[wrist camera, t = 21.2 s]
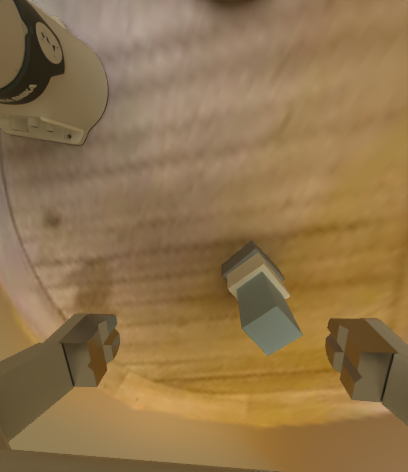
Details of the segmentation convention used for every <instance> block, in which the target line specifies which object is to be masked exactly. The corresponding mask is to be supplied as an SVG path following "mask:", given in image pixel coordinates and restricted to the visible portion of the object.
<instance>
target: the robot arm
mask: <svg viewBox="0 0 408 472" xmlns="http://www.w3.org/2000/svg"><path fill="white" fill-rule="evenodd" d="M107 97H108V85H107V79H106V75H105V71H104V69H103V66H102V64H101V62H100V60H99V59H98V57H97V56H96V54H95V53H94V52H93V51H92V49H91V48H90V47H88V46H87V45H86V44H85V43H83V42H82V41H80V40H79V39H77V38H76V37H75V36H73V35H72V34H71V32H70V31H69V29H68V28H67V27H66V25H65V24H64V23H63V22H62V21H61V20H60V19H58V18H57V17H56V16H53V15H51V16H48V15H47V14H46V13H45V12H43V11H42V10H41V9H39V8H38V7H37V6H36V5H34V4H33V3H32V2H30V1H29V0H0V128H1V129H2V130H3V131H4V132H5V133H8V134H11V135H16V136H22V137H29V138H35V139H41V140H48V141H54V142H60V143H67V144H73V145H82V144H83V143H84V141H85V139H86V137H87V134H88V131H89V130H90V128H91V127H92V126H93V125H94V124H95V123H96V122H97V121H98V120H99V119H100V117H101V116H102V114H103V112H104V109H105V107H106V103H107ZM70 135H71V139H70ZM116 325H117V320H116V316H114V315H113V314H92V313H90V314H88V313H77V314H74V315H73V316H72V317H71V318H70V319H69V320H67V321H66V322H65V323H64V324H63V325H62V326H61V327H60V328H59V329H58V330H57V331H55V332H54V333H53V334H52V335H51V336H50V337H49V338H48V339H47V340H46V341H45V342H43V343H38V344H35V345H33V346H31V347H29V348H27V349H25V350H23V351H21V352H19V353H17V354H15V355H13V356H11V357H9V358H7V359H4V360H2V361H0V472H278V471H266V470H254V469H241V468H229V467H218V466H205V465H192V464H181V463H169V462H157V461H145V460H132V459H120V458H108V457H96V456H84V455H71V454H59V453H47V452H35V451H23V450H11V448H10V445H9V443H8V442H9V441H10V440H11V439H12V438H14V437H15V436H16V435H17V434H19V433H20V432H21V431H22V430H23V429H25V428H26V427H27V426H28V425H29V424H30V423H32V422H33V421H34V420H35V419H37V418H38V417H39V416H40V415H41V414H43V413H44V412H45V411H46V410H47V409H49V408H50V407H51V406H52V405H54V404H55V403H56V402H57V401H58V400H60V399H61V398H62V397H63V396H64V395H66V394H67V393H68V392H69V391H70V390H72V389H73V387H97V386H98V384H99V383H100V381H101V379H102V378H103V376H104V374H105V373H106V371H107V364H108V363H109V362H110V361H112V360H113V359H114V358H115V356H116V354H117V352H118V349H119V345H120V336H119V332H118V331H117V330H116V329H115V326H116ZM327 328H328V330H329V331H330V332H331V334H330V335H329V336H328V337H327V338H326V343H325V348H326V354H327V357H328V360H329V362H330V364H331V365H332V367H333V368H334V369H335V370H337V371H338V372H340V373H341V375H340V381H341V383H342V384H343V386H344V388H345V389H346V391H347V393H348V394H349V396H350V398H351V399H352V400H360V401H372V402H382V404H383V405H384V406H385V407H386V408H387V409H389V410H390V411H391V412H392V413H393V414H394V415H396V416H397V417H398V418H399V419H400V420H402V421H403V422H404V423H405V424H406V425H408V344H407V343H405V342H404V341H403V340H402V339H401V338H400V337H399V336H398V335H396V334H395V333H394V332H393V331H392V330H391V329H390V328H389V327H388V326H386V325H385V324H384V323H383V322H382V321H381V320H379V319H377V318H360V319H341V318H330V320H329V322H328V327H327Z"/></svg>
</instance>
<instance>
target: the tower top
mask: <svg viewBox="0 0 408 472" xmlns="http://www.w3.org/2000/svg"><path fill="white" fill-rule="evenodd" d="M260 272H263V273H264V274H265V275H266V276H267V277H268V279H269V280H270V281H271V282H272V283H273V284H274V285H275V287H276V288H277V289H278V290H279V291H280V292H281V293H282V295H283V297H284V299H287V298H288V297H290V295H289V293H288V291H287V289H286V288H285V286H284V284H283V282H282V281H281V280H280V278H279V277H278V276H277V275H276V273H275V272H274V271H273V270H272V269H271V267H270V266H269V265H268V264H267V262H266V261H265V260H264V259H263V258H262V256H261V255H260V254H259V253H257V254H255V255H254V256H253V257H251V258H250V259H248V260H247V261H246V262H244V263H243V264H241V265H240V266H239V267H237V268H236V269H234V270H233V271H232V272H230V273H229V274H227V286H228V290H229V291H230V292H231V293H232V294H233V295H234V297H235V298H236V299H237V300H238V296H237V289H238V288H239V287H241V286H242V285H243V284H245V283H246V282H248V281H249V280H250V279H252V278H253V277H255V276H256V275H257V274H259V273H260Z"/></svg>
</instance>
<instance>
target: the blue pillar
mask: <svg viewBox="0 0 408 472" xmlns="http://www.w3.org/2000/svg"><path fill="white" fill-rule="evenodd" d="M237 296H238V304H239V311H240V319H241V326H242V329H243V330H244V331H245V332H246V334H247V335H248V336H249V337H250V338H251V339H252V340H253V341H254V342H255V343H256V344H257V345H258V346H259V347H260V348H261V349H262V350H263V351H264V353H265V354H266V355H267V356H269V355H270V354H272V353H274V352H275V351H277V350H279V349H280V348H282V347H284V346H286V345H287V344H289V343H291V342H292V341H294V340H296V339H297V338H299V337H301V336H302V335H303V334H302V332H301V330H300V328H299V326H298V324H297V322H296V321H295V319H294V317H293V315H292V313H291V311H290V309H289V307H288V305H287V303H286V301H285V299H284V297H283V295H282V293H281V292H280V291H279V290H278V289H277V288H276V287H275V285H274V284H273V283H272V282H271V281H270V280H269V279H268V277H267V276H266V275H265V274H264V273H263V272H260V273H259V274H257V275H256V276H255V277H253V278H252V279H250V280H249V281H248V282H246V283H245V284H243V285H242V286H241V287H239V288H238V289H237Z"/></svg>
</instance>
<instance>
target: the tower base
mask: <svg viewBox="0 0 408 472" xmlns="http://www.w3.org/2000/svg"><path fill="white" fill-rule="evenodd" d="M257 253H259V254H260V255H261V256H262V258H263V259H264V260H265V261H266V262H267V264H268V265H269V266H270V267H271V269H272V270H273V271H274V272H275V273H276V275H277V276H278V277H279V278H280V280H281V281H284V280H285V279H284V277H283V275H282V274H281V272H280V271H279V269H278V268H277V267H276V265H275V264H274V263H273V262H272V261H271V260H270V259H269V258H268V257H267V256H266V255H265V254H264V253H263V251H262V250H261V249H260V248H259V247H258V246H257V245H256V244H255V243H254V242H253V241H250V242H249V243H248V244H247V245H246V246H244V247H243V248H242V249H241V250H240V251H238V252H237V253H236V254H235V255H234V256H232V257H231V258H230V259H229V260H228V261H226V262H225V263H224V264H223V265H222V276H223V277H224V278H225V279H226V280H227V274H229V273H230V272H232V271H233V270H234V269H236V268H237V267H239V266H240V265H241V264H243V263H244V262H246V261H247V260H248V259H250V258H251V257H253V256H254V255H255V254H257Z"/></svg>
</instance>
